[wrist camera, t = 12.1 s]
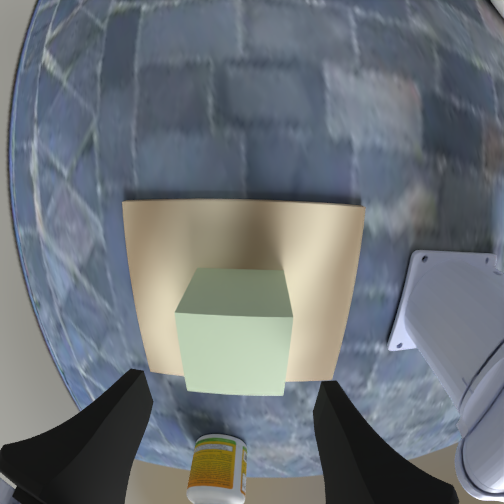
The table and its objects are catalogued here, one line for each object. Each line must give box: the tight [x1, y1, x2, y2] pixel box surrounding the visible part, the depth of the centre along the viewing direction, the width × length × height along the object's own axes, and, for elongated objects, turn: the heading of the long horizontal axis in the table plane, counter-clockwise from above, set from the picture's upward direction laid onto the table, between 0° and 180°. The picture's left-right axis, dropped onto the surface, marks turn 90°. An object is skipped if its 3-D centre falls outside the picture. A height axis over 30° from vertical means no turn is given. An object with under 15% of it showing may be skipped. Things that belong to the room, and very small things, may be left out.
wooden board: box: [122, 199, 366, 382], centre depth 17 cm, size 14×13×1 cm
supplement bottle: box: [187, 434, 247, 504], centre depth 19 cm, size 5×5×10 cm
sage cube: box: [174, 268, 293, 396], centre depth 14 cm, size 5×5×5 cm
